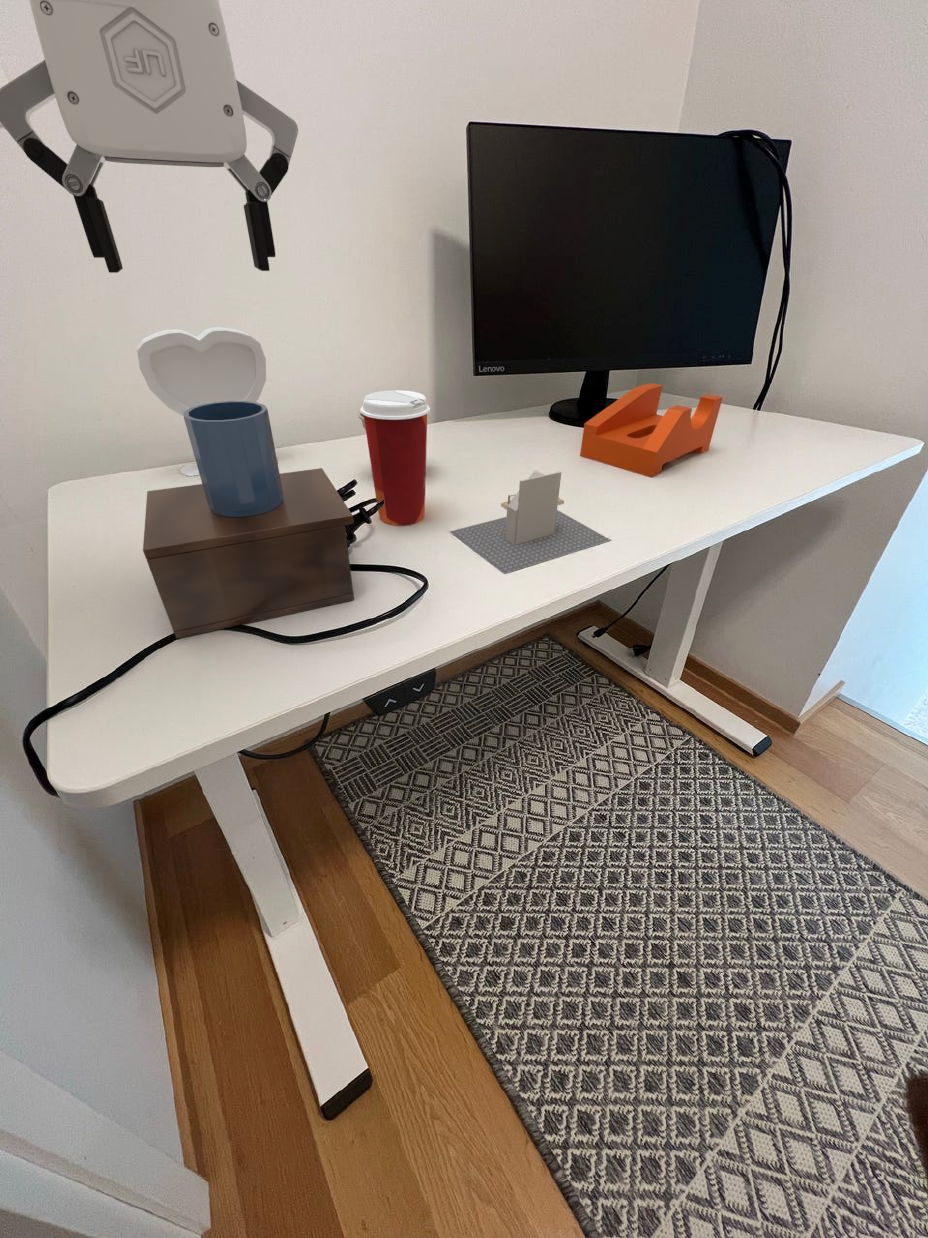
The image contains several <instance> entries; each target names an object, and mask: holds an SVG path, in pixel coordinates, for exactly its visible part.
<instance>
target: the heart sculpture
mask: <svg viewBox="0 0 928 1238" xmlns="http://www.w3.org/2000/svg"><path fill="white" fill-rule="evenodd" d="M136 352H137V358H138V365H139V370H140V372H141V375H142V377H143V378H144V380H145V382H146V384H147V386H148V388H149V390H150V391H151V393H152V394H154V396H155V397H157V398H158V399H159V400H160V401H161V402H162V403H163V404H164V405H165V406H166V407H167V408H168V409H170V410H172V411H174V412H175V413H177V414H179V415H181V416H182V417H184V415H183V413H184V412H185V411H186V410H188V409H189V408H192V407H195V406H198V405H202V404H207V403H213V402H222V401H250V402H257V401H258V400H259V399H260V397H261V394H262V392H263V389H264V386H265V384H266V381H267V364H266V363H267V362H266V361H267V360H266V356H265V354H264V350H263V348H262V344H261V342H260V341H258V340H257V339H256V338H255V337H253V336H252V335H250V334H249V333H248V332H245V331H242V330H239V329H237V328H236V329H235V328H231V327H225V326H210V327H208V328H206V329H204V330H203V331H201V333H199V334H198V335H197V336H196V335H195V334H193V333H191V332H188V331H187V330H184V329H180V328H173V329H172V328H170V329H164V330H161V331H157V332H154V333H152V334H150V335H148V336H146V337H144V338H142V339H141V341H140V342H139V343H138V344H137V346H136ZM179 473H181V474H182V475H184V476H187V477H193V476H200V474H199V470H198V467H197V463H196V462H193V463H190V464H189V463H188V464H186V465H185V466H184V465H183V467H181V469H180V470H179Z"/></svg>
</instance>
